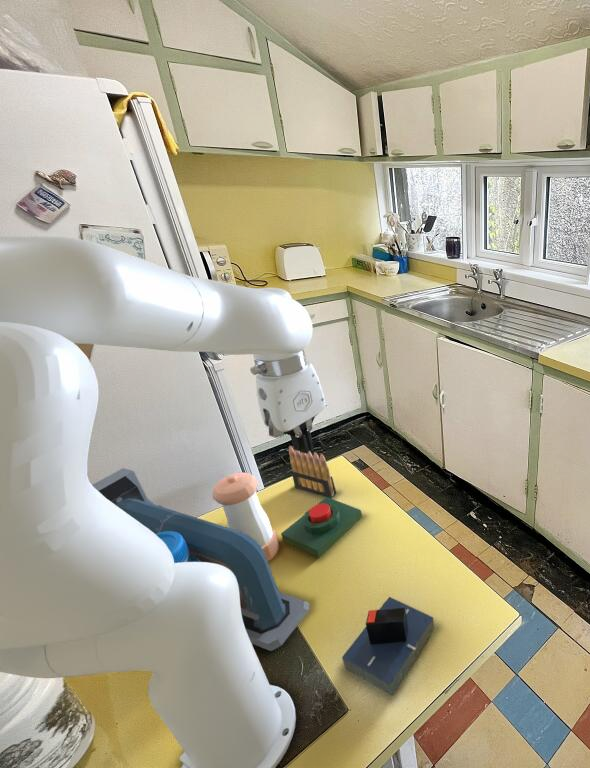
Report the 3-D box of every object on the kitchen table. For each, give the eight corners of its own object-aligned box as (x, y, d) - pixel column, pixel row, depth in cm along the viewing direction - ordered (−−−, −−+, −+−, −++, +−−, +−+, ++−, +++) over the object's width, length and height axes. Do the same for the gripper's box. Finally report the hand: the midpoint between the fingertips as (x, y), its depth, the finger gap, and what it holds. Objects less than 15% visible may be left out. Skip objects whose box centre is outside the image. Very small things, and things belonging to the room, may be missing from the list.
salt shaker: (231, 570, 78) (199, 493, 69) (244, 541, 84) (216, 466, 76) (273, 564, 80) (246, 487, 71) (283, 535, 86) (260, 461, 77)
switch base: (394, 697, 60) (392, 685, 58) (343, 667, 63) (339, 655, 62) (436, 629, 69) (435, 617, 67) (389, 606, 72) (387, 595, 71)
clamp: (314, 604, 72) (286, 513, 63) (275, 653, 65) (236, 559, 55) (168, 553, 81) (124, 467, 72) (118, 591, 74) (62, 501, 64)
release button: (320, 526, 84) (318, 519, 83) (306, 519, 85) (304, 513, 84) (335, 513, 87) (334, 506, 86) (321, 507, 88) (319, 501, 88)
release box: (319, 558, 81) (315, 543, 79) (283, 541, 84) (278, 527, 83) (362, 517, 91) (359, 503, 89) (328, 503, 94) (324, 490, 93)
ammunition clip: (294, 488, 99) (283, 447, 93) (300, 483, 100) (289, 442, 95) (331, 498, 96) (321, 457, 90) (336, 493, 97) (327, 452, 92)
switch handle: (408, 627, 66) (405, 606, 63) (406, 641, 64) (403, 620, 61) (373, 630, 65) (368, 609, 63) (370, 644, 63) (365, 623, 61)
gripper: (257, 384, 63) (285, 478, 71) (331, 351, 75) (348, 434, 83) (224, 375, 65) (255, 466, 74) (301, 344, 78) (320, 425, 86)
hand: (304, 449), depth 79 cm, fingers closed
